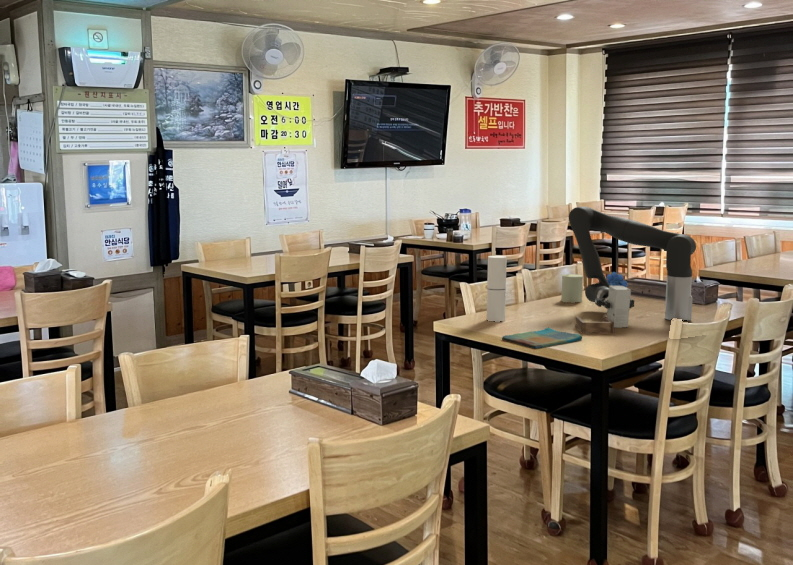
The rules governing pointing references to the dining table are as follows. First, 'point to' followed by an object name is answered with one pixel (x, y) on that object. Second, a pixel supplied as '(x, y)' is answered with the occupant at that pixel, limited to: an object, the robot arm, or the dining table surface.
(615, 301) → the skincare box
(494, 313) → the cylindrical container
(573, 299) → the can
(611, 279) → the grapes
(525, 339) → the dish towel
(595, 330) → the bracket
